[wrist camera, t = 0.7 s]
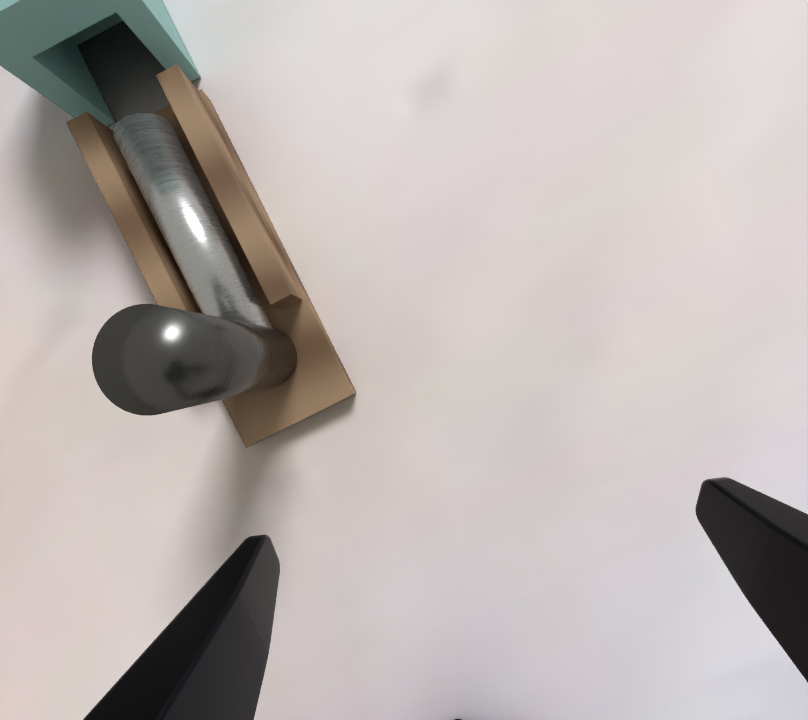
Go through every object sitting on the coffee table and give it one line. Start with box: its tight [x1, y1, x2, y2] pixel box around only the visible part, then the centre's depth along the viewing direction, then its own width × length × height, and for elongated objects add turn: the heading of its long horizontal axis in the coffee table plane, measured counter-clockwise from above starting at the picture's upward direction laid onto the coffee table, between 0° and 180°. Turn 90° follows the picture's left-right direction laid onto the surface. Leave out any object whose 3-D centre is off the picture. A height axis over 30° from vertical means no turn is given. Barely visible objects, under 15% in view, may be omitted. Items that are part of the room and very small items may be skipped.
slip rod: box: [92, 113, 297, 415], centre depth 17 cm, size 15×3×10 cm, turn 27°
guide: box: [66, 64, 356, 448], centre depth 21 cm, size 19×7×3 cm, turn 27°
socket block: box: [0, 0, 200, 126], centre depth 19 cm, size 6×7×7 cm
